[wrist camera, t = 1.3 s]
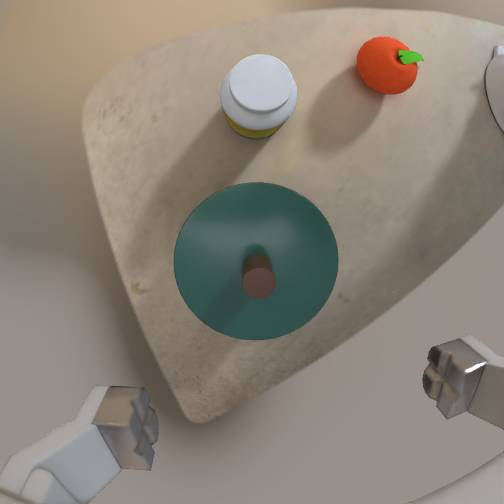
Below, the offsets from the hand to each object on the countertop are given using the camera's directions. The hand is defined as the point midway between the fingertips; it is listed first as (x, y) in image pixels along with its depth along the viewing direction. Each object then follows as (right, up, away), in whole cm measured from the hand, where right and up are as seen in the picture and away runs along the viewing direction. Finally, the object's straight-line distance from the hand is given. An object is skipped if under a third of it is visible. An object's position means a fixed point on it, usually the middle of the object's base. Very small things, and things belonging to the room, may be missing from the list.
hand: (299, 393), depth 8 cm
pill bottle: (-1, +19, +23) cm, 30 cm away
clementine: (+14, +25, +22) cm, 36 cm away
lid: (-1, +3, +18) cm, 18 cm away
